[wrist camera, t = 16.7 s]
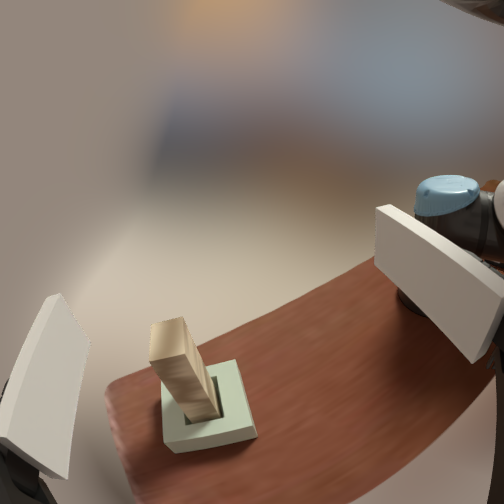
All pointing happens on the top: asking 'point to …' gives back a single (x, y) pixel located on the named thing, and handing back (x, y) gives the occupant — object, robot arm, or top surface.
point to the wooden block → (183, 370)
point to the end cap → (215, 431)
